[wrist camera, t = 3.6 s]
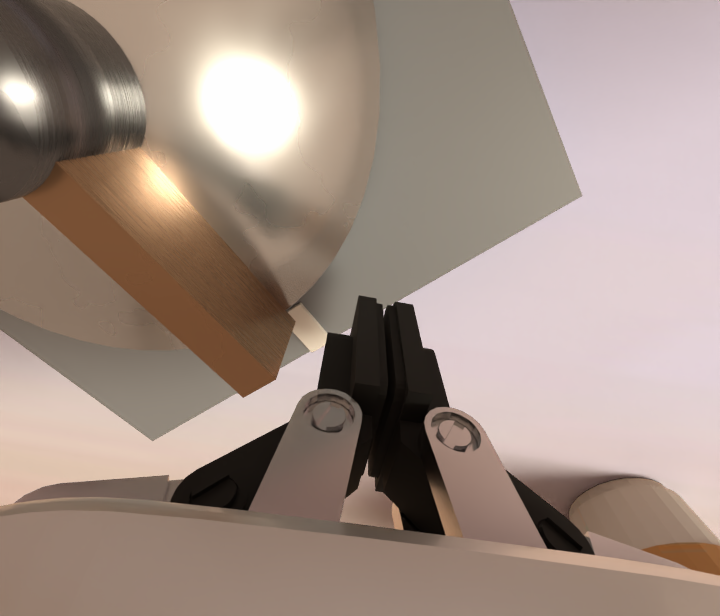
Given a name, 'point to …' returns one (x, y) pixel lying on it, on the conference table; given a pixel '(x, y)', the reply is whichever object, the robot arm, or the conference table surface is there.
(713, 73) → the conference table surface
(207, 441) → the conference table surface
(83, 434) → the conference table surface
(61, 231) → the dial
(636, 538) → the coffee cup
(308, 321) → the dial plate
